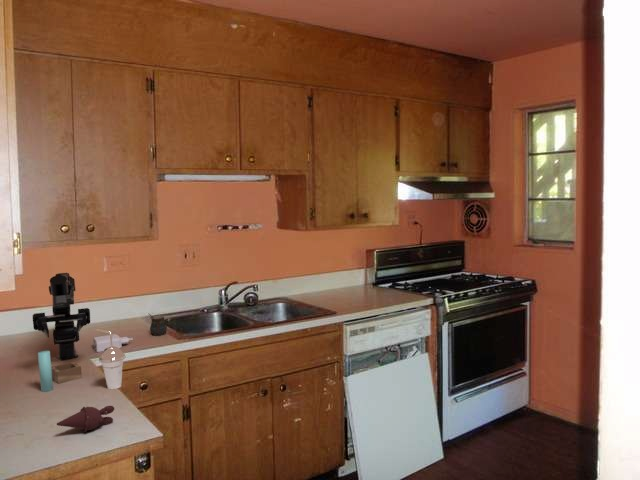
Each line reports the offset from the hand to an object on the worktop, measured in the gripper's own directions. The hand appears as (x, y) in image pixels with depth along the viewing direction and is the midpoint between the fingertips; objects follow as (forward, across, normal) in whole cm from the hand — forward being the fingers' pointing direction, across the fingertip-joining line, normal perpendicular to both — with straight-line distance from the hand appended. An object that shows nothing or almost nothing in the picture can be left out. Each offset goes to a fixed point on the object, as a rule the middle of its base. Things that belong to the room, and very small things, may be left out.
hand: (63, 334), depth 195 cm
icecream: (+50, +5, -9) cm, 51 cm away
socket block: (+7, 0, +15) cm, 16 cm away
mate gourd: (-28, +38, +33) cm, 58 cm away
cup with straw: (+22, +14, +6) cm, 27 cm away
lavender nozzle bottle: (-20, +19, +29) cm, 40 cm away
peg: (+15, -6, +10) cm, 19 cm away
